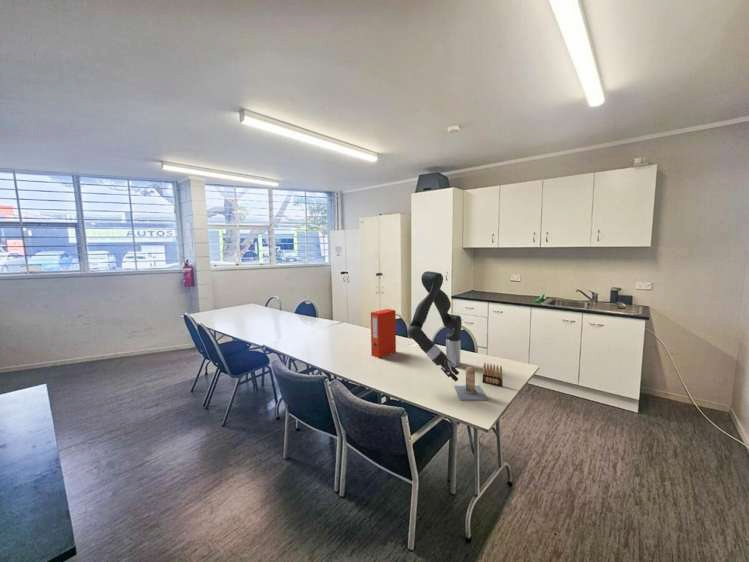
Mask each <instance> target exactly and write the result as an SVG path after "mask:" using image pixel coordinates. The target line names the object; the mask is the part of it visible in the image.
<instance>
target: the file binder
mask: <svg viewBox="0 0 749 562" xmlns="http://www.w3.org/2000/svg"><path fill="white" fill-rule="evenodd" d="M396 318H397V317H396V310H395V309H392V308H386V309H385V308H384V309H382V310H376V311H372V312H370V342H371V343H370V345H371V346H370V347H371V348H370V349H371V351H370V353H371V356H372V357H374V356H375V358H376V357H378V358H377V359H380V357H381V358H383V356H384V357H386V356H385V355H387V356H390V355H392V354H391V353H393V354H395V353H394V352H397V337H396V336H397V335H396V334H397V332H396V331H397V330H396V327H397V326H396V323H397V322H396V321H397V319H396ZM389 354H390V355H389Z"/></svg>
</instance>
